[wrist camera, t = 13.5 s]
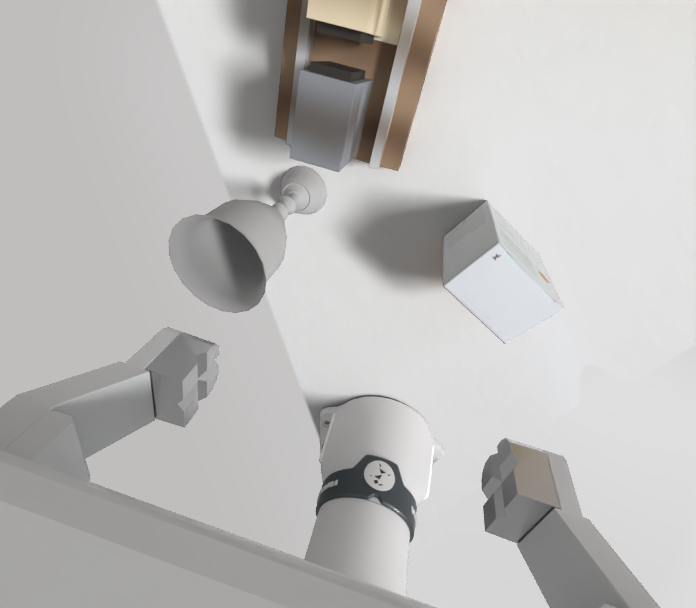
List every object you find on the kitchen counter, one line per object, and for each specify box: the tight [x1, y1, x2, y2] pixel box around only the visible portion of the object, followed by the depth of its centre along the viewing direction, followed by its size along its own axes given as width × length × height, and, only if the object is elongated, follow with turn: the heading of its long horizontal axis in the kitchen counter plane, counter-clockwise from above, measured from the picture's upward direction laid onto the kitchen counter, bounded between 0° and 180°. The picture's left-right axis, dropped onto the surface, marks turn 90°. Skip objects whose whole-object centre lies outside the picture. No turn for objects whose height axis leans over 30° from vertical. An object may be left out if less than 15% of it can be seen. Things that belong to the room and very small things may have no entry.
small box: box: [443, 200, 564, 344], centre depth 35 cm, size 8×6×10 cm
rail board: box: [275, 0, 447, 172], centre depth 29 cm, size 18×12×9 cm, turn 168°
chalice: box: [169, 166, 327, 313], centre depth 33 cm, size 7×7×18 cm
